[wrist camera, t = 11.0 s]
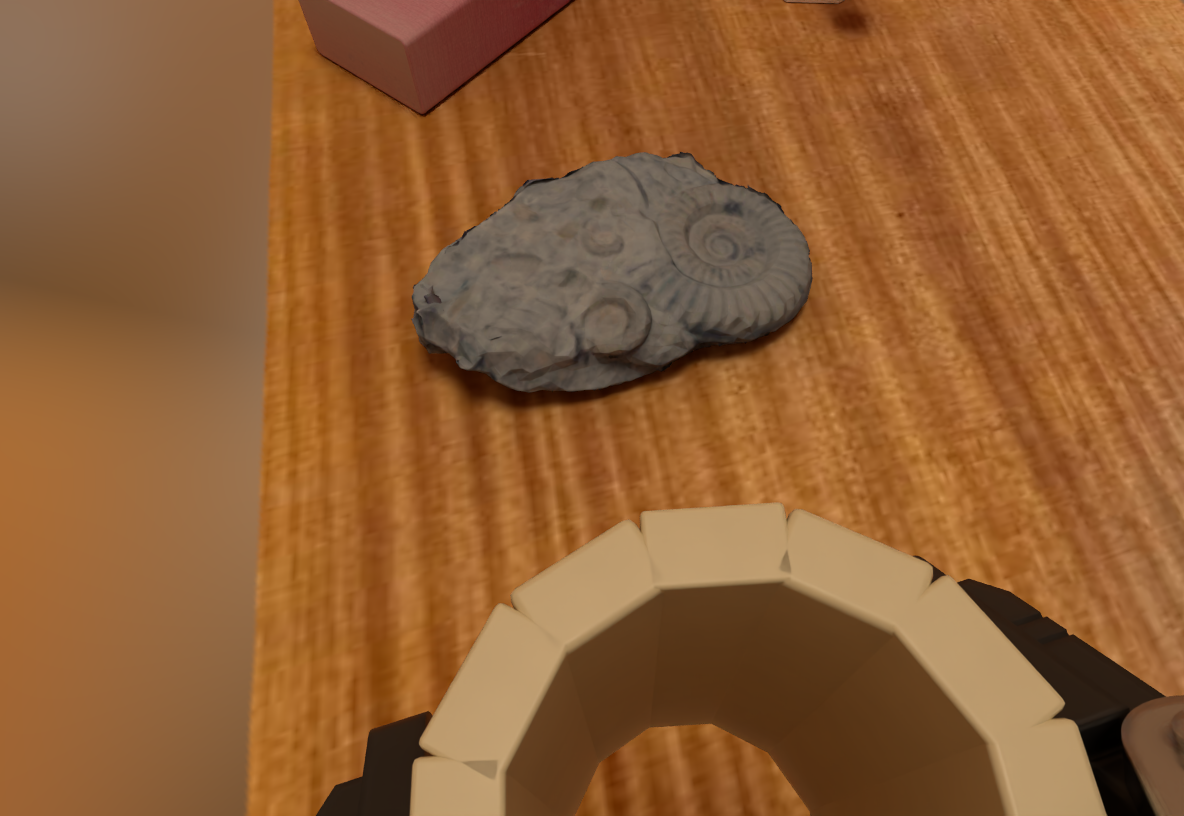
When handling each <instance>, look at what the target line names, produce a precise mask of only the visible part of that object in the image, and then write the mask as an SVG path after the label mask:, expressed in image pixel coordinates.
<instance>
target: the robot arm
mask: <svg viewBox="0 0 1184 816" xmlns="http://www.w3.org/2000/svg"><path fill="white" fill-rule="evenodd" d="M913 557H915V558H918V559H920V560H922V561H925V562H927V561H926V560H925V559H923V558H921V557H919V556H913ZM927 563H928V564H930V563H929V562H927ZM930 565H931V566H932V567H933V579H932V582H931V584H932V583H933V582H934V581H936V580H937V579H938V578H940V577H941V576H946V575H945V574H944V573H943V572H941V571H940V570H939V569H937V568H936V567H934V566H933V565H932V564H930ZM957 584H958V585H959V586H960V587H961V588H962V589H963V590H964V591H965V592H966V593H967V594H968V596H969V597H970V598H971V599H972V600H973V601H974V602H975V603H976V604H977V605H978V606H979V608H980V609H981V610H982V611H983V612H984V613H985V614H986V615H987V616H988V617H989V619H990V620H991V621H992V622H993V623H994V624H995V625H996V626H997V627H998V628H999V629H1000V631H1001V632H1002V633H1003V634H1004V635H1005V636H1006V637H1007V638H1008V639H1009V640H1010V642H1011V643H1012V644H1013V645H1014V646H1015V647H1016V648H1017V649H1018V650H1019V651H1020V652H1021V654H1022V655H1023V656H1024V657H1025V658H1026V659H1027V660H1028V661H1029V662H1030V663H1031V664H1032V666H1033V667H1034V668H1035V669H1036V670H1037V671H1038V672H1039V673H1040V674H1041V675H1042V677H1043V678H1044V679H1045V680H1046V681H1047V682H1048V683H1049V684H1050V685H1051V686H1052V687H1053V689H1054V690H1055V691H1056V692H1057V693H1058V694H1059V695H1060V696H1061V697H1062V698H1063V700H1064V702H1065V705H1064V707H1063V710H1062V711H1060V712H1059V713H1058V714H1057V715H1056V716H1054V717H1053V718H1066V719H1069V720H1072V721H1074V722H1075V724H1076V725H1077V726H1078V729H1079V732H1080V735H1081V738H1082V741H1083V744H1084V747H1085V750H1086V753H1087V756H1088V760H1089V763H1090V766H1091V769H1092V772H1093V775H1094V778H1095V781H1096V784H1097V787H1098V790H1099V793H1100V796H1101V799H1102V802H1103V805H1104V808H1105V811H1106V814H1107V816H1184V696H1170V697H1166V696H1164V695H1163V694H1161V693H1160V692H1158V691H1157V690H1155V689H1154V688H1152V687H1151V686H1149V685H1148V684H1146V683H1145V682H1143V681H1142V680H1140V679H1139V678H1137V677H1136V676H1134V675H1133V674H1132V673H1130V672H1129V671H1127V670H1126V669H1124V668H1123V667H1121V666H1120V665H1118V664H1117V663H1115V662H1114V661H1112V660H1111V659H1109V658H1108V657H1106V656H1105V655H1103V654H1102V653H1100V652H1099V651H1097V650H1096V649H1094V648H1093V647H1091V646H1090V645H1088V644H1087V643H1085V642H1084V641H1082V640H1081V639H1079V638H1078V637H1076V636H1075V635H1069V634H1068V633H1067V630H1066V629H1064V628H1063V627H1061V626H1060V625H1059V624H1057V623H1056V622H1054V621H1053V620H1051V619H1050V618H1048V617H1044V618H1043V617H1042V615H1041V613H1040V612H1039V611H1038V610H1036V609H1035V608H1033V607H1032V606H1030V605H1029V604H1027V603H1026V602H1024V601H1023V600H1021V599H1020V598H1018V597H1017V596H1015V595H1014V594H1012V593H1011V592H1009V591H1006V590H1003V589H1000V588H997V587H993V586H990V585H987V584H984V583H981V582H978V581H975V580H971V579H966V580H963V581H960V582H957ZM432 717H433V716H432V714H431V713H430V712H429V711H427V712H424V713H421V714H418V715H415V716H412V717H408V718H405V719H402V720H399V721H396V722H393V723H390V724H387V725H384V726H381V727H377V728H374V729H372V730H370V732H369V736H368V742H367V749H366V756H365V763H364V770H363V776H362V777H359V778H356V779H353V780H350V781H347V782H344V783H341V784H338V785H335V787H334V788H333V790H332V792H331V793H330V795H329V796H328V798H327V799H326V801H325V802H324V804H323V805H322V807H321V808H320V810H319V812H318V813H317V815H316V816H410V797H411V779H412V765H413V763H414V760H415V759H417V758H419V757H427V756H433V755H431V754H430V753H428V752H426V751H425V750H423V749H422V748H421V747H420V745H419V741H420V738H421V736H422V734H423V732H424V731H425V729H426V727H427V725H428V724H429V722H430V720H431V718H432Z"/></svg>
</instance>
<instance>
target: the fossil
mask: <svg viewBox="0 0 1184 816" xmlns="http://www.w3.org/2000/svg"><path fill="white" fill-rule="evenodd" d="M809 252H810V250H809V247H808V244H807V241H806V240H805V237H804V235H803V234H802V232H801V231H800V230H799V228H798V227H797V226H796V225H795V224H794V223H793V222H792V221H791V220H790V219H789V218H788V217H787V216H786V215H785V214H784V212H783V210H782V209H781V206H780V205H779V204H778V203H776V202H774V201H772V199H771V198H770V197H769V196H768V195H767V194H766V193H761V192H757V191H756V190H754V189H752V188H750V187H749V186H748V188H747V189H746V188H745V187H744V186H739V185H735V186H734V185H733V184H730V183H727V182H724V181H722V180H720V179H718V178H716V175H715V176H714V173H713V172H711V171H710V170H705V169H704V168H703V166H702V165H701V164H699V163H698V162H697V161H696V160H695V159H694V157H693V156H692V154H690V153H683V152H680V154H675V155H672V156H669V157H668V158H661V157H660V156H657V155H653V154H649V153H646V152H644V153H637V154H633V155H630V156H627V157H619V156H616V157H614V158H613V159H611V160H606V161H600V162H592V163H590V164H588V165H586V166H584V167H582V168H580V169H577V170H574V171H571V172H569V173H568V174H567V175H565V176H564V177H562V178H560V179H559V178H555V179H554V178H553V179H552V178H547V179H536V180H527V181H526V182H525V183H524V184H523V186H522V187H520V188H519V189H518V190H517V191H516V192H515V195H514V197H513V198H512V199H511V200H510V202H509V203H507V204H505V205H504V207H502V208H501V209H499V210H498V212H494V213H493V214H491V215H490V217H489V218H488V219H486V220H485V221H483V222H482V223H481V224H479V225H478V226H474V227H472V228H471V229H469V230H467V231H465V232H464V234H463V236H462V237H461V238H460V239H458V240H456V241H455V242H454V243H452V244H451V245H449V246H447V247H446V248H444V249H442V251H441V252H440V253H439V254H438V255H437V257H436V258H435V259H434V260H433V261H432V262H431V265H430V268H429V271H428V273H427V274H426V276H425V277H424V278H423V279H422V280H421V281H420V282H419V283H418V284H417V285H414V287H413V289H414V293H413V295H412V299H413V304H414V308H415V312H414V318H413V319H412V321H413V324H414V326H415V328H416V331H417V334H418V336H419V342H420V343H421V344H422V345H423V346H424V347H425V348H426V349H427V351H428V352H429V353H449V354H450V355H452V356H453V357H454V358H455V359H456V363H457V364H458V366H459V367H460V368H461V369H465V370H469V371H478V372H482V373H485V374H487V375H488V376H489V377H491V378H492V379H493V380H495V381H496V382H498V383H500V384H502V385H504V386H506V387H508V388H511V389H514V390H517V391H524V392H534V391H538V390H549V391H552V392H553V391H568V392H569V391H571V392H573V391H582V390H596V389H599V390H600V389H602V388H604V387H605V388H607V387H608V386H609V385H611V386H613V385H616V384H622V383H623V382H625V381H632V380H634V379H636V378H638V377H642V376H643V375H647V374H651V373H653V372H655V371H656V370H659V371H664V370H666V369H667V368H668V367H670V365H671V364H672V362H674V361H676V360H677V359H679V358H681V357H683V356H685V355H687V354H688V353H690V352H693V350H697V349H699V348H704V347H710V346H711V345H719V346H721V345H725V344H735V343H743V342H745V344H746V342H750V341H752V340H754V339H757V338H759V337H762V336H766V335H768V334H769V333H770V332H775V331H776V330H777V329H779V328H780V327H781V326H783V325H784V324H786V323H788V322H789V321H791V320H792V319H793V318H794V317H795V316H796V314H797V313H798V312H799V310H800V309H801V308H802V306H803V305H804V304H805V303H806V301H807V299H808V295H809V291H810V288H811V283H812V279H813V278H812V263H811V261H810V258H809V256H808V255H809V254H810V253H809Z"/></svg>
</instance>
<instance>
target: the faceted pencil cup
mask: <svg viewBox="0 0 1184 816" xmlns="http://www.w3.org/2000/svg"><path fill="white" fill-rule="evenodd" d="M932 579H933V567H932V566H931V565H930V564H928V563H927V562H925V561H922V560H920V559H918V558H915V557H913V556H911V555H908V554H906V553H904V552H901V551H899V550H897V549H894V548H892V547H889V546H887V545H885V544H882V543H880V542H878V541H875V540H873V539H871V538H868V537H866V536H864V535H861V534H859V533H857V532H854V531H852V530H849V529H847V528H845V527H842V526H840V525H838V524H835V523H833V522H831V521H828V520H826V519H824V518H821V517H819V516H817V515H814V514H812V513H809V512H807V511H805V510H802V509H794V510H793V511H792V512H791V513H790V514H789V516H788V518H787V519H786V514H785V509H784V506H783V504H782V503H764V504H749V505H733V506H718V507H703V508H687V509H672V510H657V511H644V512H642V513H641V515H640V529H639V528H638V526H637V525H636V524H635V523H633V522H632V521H630V520H625V521H622V522H620V523H619V524H617V525H615V526H614V527H612V528H611V529H609V530H607V531H606V532H604V533H603V534H601V535H600V536H598V537H596V538H595V539H593V540H592V541H590V542H588V543H587V544H585V545H584V546H582V547H581V548H579V549H577V550H576V551H574V552H573V553H571V554H569V555H568V556H566V557H565V558H563V559H561V560H560V561H558V562H557V563H555V564H554V565H552V566H550V567H549V568H547V569H546V570H544V571H542V572H541V573H539V574H538V575H536V576H535V577H533V578H531V579H530V580H528V581H527V582H525V583H523V584H522V585H520V586H519V587H517V588H515V590H514V591H513V592H512V594H511V595H510V596H511V603H512V605H513V607H514V608H512V607H510V606H508V605H506V604H501V603H499V604H498V605H496V606H495V608H494V610H493V611H492V613H491V615H490V617H489V618H488V620H487V622H486V624H485V625H484V627H483V629H482V631H481V632H480V634H479V636H478V638H477V639H476V641H475V643H474V645H473V646H472V648H471V650H470V652H469V653H468V655H467V657H466V659H465V660H464V662H463V664H462V666H461V667H460V669H459V671H458V673H457V674H456V676H455V678H454V680H453V681H452V683H451V685H450V687H449V688H448V690H447V692H446V694H445V695H444V697H443V699H442V701H441V703H440V704H439V706H438V708H437V710H436V711H435V713H434V715H433V717H432V718H431V720H430V722H429V724H428V725H427V727H426V729H425V731H424V732H423V734H422V736H421V738H420V741H419V745H420V747H421V748H422V749H423V750H425V751H426V752H428V753H430V754H431V755H433V756H427V757H419V758H417V759H415V760H414V763H413V765H412V779H411V797H410V816H575V814H576V812H577V809H578V807H579V805H580V803H581V801H582V799H583V797H584V794H585V792H586V790H587V788H588V786H589V784H590V782H591V779H592V777H593V775H594V773H595V771H596V769H597V766H598V764H599V763H600V762H601V761H603V760H604V759H605V758H607V757H608V756H610V755H611V754H612V753H614V752H615V751H617V750H618V749H620V748H621V747H622V746H624V745H625V744H627V743H628V742H629V741H631V740H632V739H634V738H635V737H636V736H638V735H639V734H641V733H642V732H643V731H645V730H646V729H648V728H649V727H664V726H680V725H696V724H713V725H715V726H717V727H719V728H721V729H723V730H725V731H727V732H729V733H731V734H733V735H735V736H737V737H739V738H741V739H743V740H745V741H747V742H749V743H751V744H753V745H754V746H756V747H758V748H760V749H762V750H764V751H766V752H768V753H769V754H770V756H771V757H772V759H773V760H774V762H775V763H776V764H777V766H778V767H779V769H780V770H781V771H782V773H783V774H784V776H785V777H786V778H787V780H788V781H789V783H790V784H791V786H792V787H793V788H794V790H795V791H796V793H797V794H798V795H799V797H800V798H801V800H802V801H803V802H804V804H805V805H806V807H807V808H808V810H809V811H810V816H1107V814H1106V811H1105V808H1104V805H1103V802H1102V799H1101V796H1100V793H1099V790H1098V787H1097V784H1096V781H1095V778H1094V775H1093V772H1092V769H1091V766H1090V763H1089V760H1088V756H1087V753H1086V750H1085V747H1084V744H1083V741H1082V738H1081V735H1080V732H1079V729H1078V726H1077V725H1076V724H1075V722H1074V721H1072V720H1069V719H1066V718H1053V717H1054V716H1056V715H1057V714H1058V713H1059V712H1060V711H1062V710H1063V707H1064V705H1065V702H1064V700H1063V698H1062V697H1061V696H1060V695H1059V694H1058V693H1057V692H1056V691H1055V690H1054V689H1053V687H1052V686H1051V685H1050V684H1049V683H1048V682H1047V681H1046V680H1045V679H1044V678H1043V677H1042V675H1041V674H1040V673H1039V672H1038V671H1037V670H1036V669H1035V668H1034V667H1033V666H1032V664H1031V663H1030V662H1029V661H1028V660H1027V659H1026V658H1025V657H1024V656H1023V655H1022V654H1021V652H1020V651H1019V650H1018V649H1017V648H1016V647H1015V646H1014V645H1013V644H1012V643H1011V642H1010V640H1009V639H1008V638H1007V637H1006V636H1005V635H1004V634H1003V633H1002V632H1001V631H1000V629H999V628H998V627H997V626H996V625H995V624H994V623H993V622H992V621H991V620H990V619H989V617H988V616H987V615H986V614H985V613H984V612H983V611H982V610H981V609H980V608H979V606H978V605H977V604H976V603H975V602H974V601H973V600H972V599H971V598H970V597H969V596H968V594H967V593H966V592H965V591H964V590H963V589H962V588H961V587H960V586H959V585H958V584H957V582H956V581H955V580H954V579H953V578H952V577H950V576H949V575H946V576H941V577H940V578H938V579H937V580H936V581H934V582H933V583H932V584H931V582H932Z"/></svg>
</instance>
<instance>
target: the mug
mask: <svg viewBox="0 0 1184 816" xmlns="http://www.w3.org/2000/svg"><path fill="white" fill-rule="evenodd" d="M784 1H786V2H808V3H840V2H842V1H844V0H784Z"/></svg>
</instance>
